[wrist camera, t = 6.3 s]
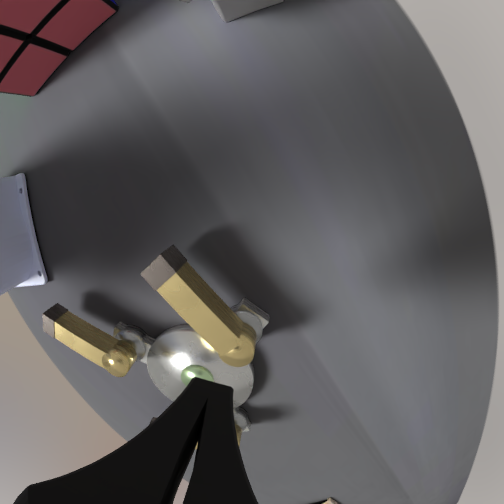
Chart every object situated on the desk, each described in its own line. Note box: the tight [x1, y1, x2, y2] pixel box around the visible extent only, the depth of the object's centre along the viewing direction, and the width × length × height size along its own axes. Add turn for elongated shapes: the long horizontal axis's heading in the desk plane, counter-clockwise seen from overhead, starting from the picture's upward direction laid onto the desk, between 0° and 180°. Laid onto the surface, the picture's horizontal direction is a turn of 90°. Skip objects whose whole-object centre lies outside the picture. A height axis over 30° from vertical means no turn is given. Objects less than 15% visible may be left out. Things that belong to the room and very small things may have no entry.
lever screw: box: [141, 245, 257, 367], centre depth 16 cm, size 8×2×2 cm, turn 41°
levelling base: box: [113, 298, 270, 432], centre depth 20 cm, size 13×12×1 cm
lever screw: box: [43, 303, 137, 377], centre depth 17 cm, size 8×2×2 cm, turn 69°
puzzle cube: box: [0, 0, 119, 97], centre depth 8 cm, size 10×10×10 cm
